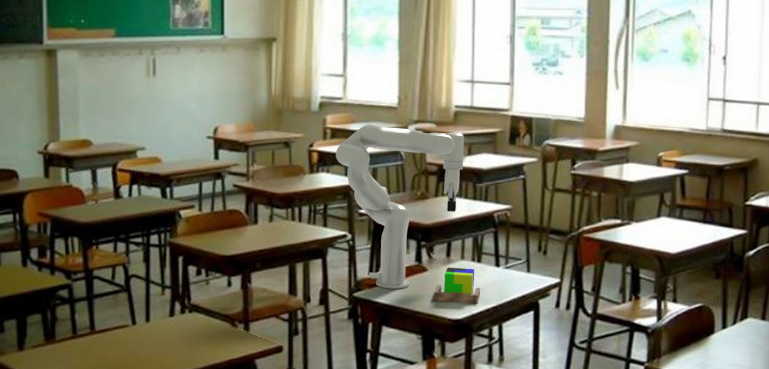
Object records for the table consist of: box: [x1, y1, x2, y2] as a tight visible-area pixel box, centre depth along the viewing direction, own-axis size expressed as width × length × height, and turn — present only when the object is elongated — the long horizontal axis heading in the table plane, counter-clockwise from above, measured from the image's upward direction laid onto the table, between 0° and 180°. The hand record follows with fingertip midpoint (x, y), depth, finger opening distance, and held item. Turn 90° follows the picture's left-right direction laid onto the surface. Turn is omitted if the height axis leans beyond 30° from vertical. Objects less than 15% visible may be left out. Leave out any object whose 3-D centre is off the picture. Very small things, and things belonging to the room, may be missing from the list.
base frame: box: [433, 284, 481, 304], centre depth 393 cm, size 16×11×3 cm
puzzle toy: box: [443, 267, 475, 294], centre depth 394 cm, size 10×10×10 cm
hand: (451, 211), depth 418 cm, fingers closed
